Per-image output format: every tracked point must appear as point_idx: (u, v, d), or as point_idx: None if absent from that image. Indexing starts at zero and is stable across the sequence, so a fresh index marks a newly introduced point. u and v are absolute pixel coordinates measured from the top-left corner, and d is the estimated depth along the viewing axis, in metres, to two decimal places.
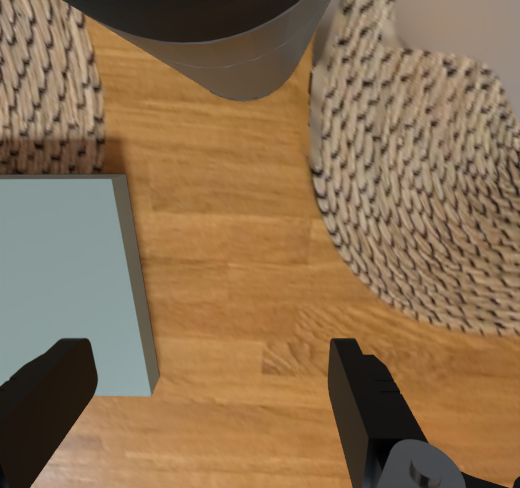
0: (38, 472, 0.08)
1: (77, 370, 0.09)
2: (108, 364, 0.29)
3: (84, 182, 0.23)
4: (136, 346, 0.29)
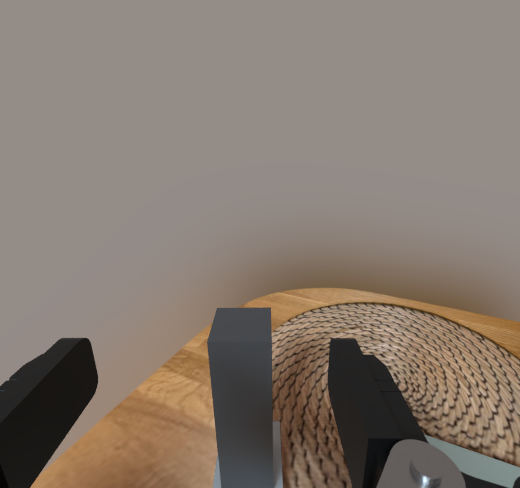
0: (38, 472, 0.08)
1: (77, 371, 0.09)
2: None
3: None
4: None
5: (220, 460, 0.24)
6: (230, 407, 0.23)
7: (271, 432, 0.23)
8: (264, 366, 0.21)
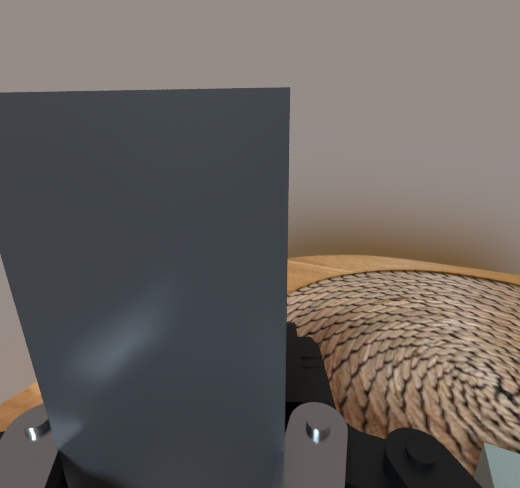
0: None
1: None
2: None
3: None
4: None
5: None
6: (119, 433, 0.06)
7: None
8: (253, 241, 0.04)
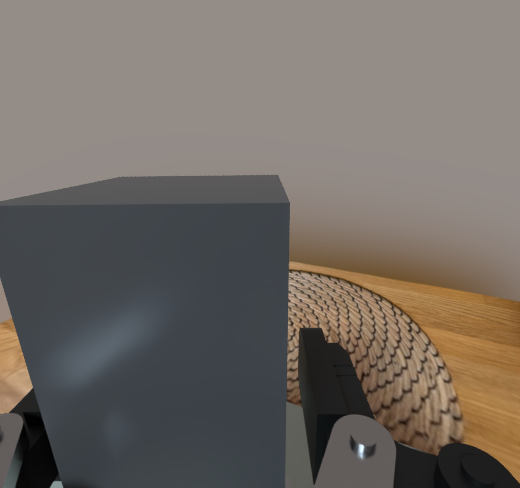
0: None
1: None
2: None
3: None
4: None
5: None
6: None
7: None
8: (255, 331, 0.05)
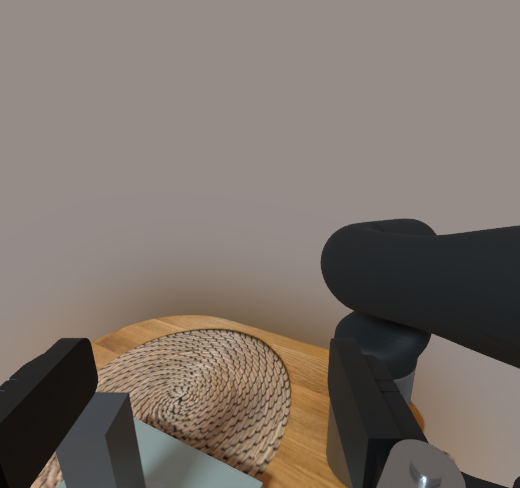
0: (38, 472, 0.08)
1: (78, 370, 0.09)
2: None
3: (246, 476, 0.37)
4: None
5: None
6: (80, 486, 0.26)
7: None
8: (103, 454, 0.25)
